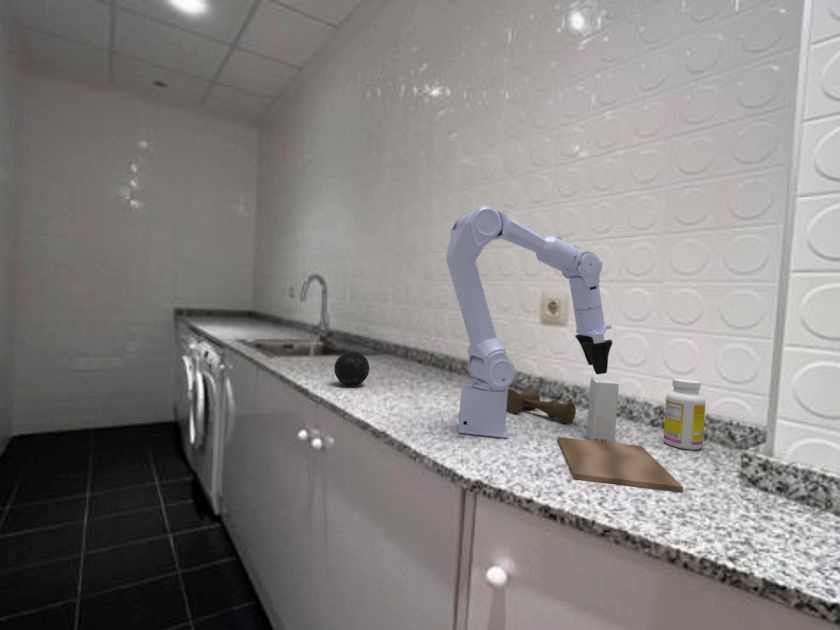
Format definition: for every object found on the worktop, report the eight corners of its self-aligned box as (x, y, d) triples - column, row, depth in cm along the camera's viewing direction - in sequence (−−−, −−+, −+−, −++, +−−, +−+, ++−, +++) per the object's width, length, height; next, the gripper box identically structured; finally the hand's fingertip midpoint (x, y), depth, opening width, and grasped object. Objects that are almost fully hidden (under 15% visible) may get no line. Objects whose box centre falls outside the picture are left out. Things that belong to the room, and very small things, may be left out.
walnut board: (573, 478, 66) (574, 473, 66) (557, 441, 84) (557, 436, 84) (682, 492, 63) (683, 486, 63) (640, 450, 82) (641, 445, 82)
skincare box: (615, 446, 83) (619, 383, 82) (591, 444, 84) (595, 381, 83) (608, 437, 89) (612, 378, 88) (585, 435, 90) (589, 376, 89)
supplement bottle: (699, 444, 88) (704, 380, 87) (705, 453, 82) (710, 385, 81) (661, 437, 91) (666, 376, 90) (664, 446, 85) (669, 380, 84)
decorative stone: (327, 386, 123) (329, 351, 123) (342, 381, 133) (344, 348, 133) (360, 390, 121) (362, 354, 120) (373, 384, 130) (375, 351, 130)
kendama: (559, 430, 94) (486, 407, 109) (580, 424, 101) (509, 404, 116) (562, 402, 94) (489, 383, 109) (583, 399, 101) (512, 381, 116)
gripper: (616, 308, 86) (626, 375, 87) (599, 300, 100) (608, 358, 101) (578, 314, 87) (589, 380, 89) (567, 306, 101) (577, 362, 103)
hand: (597, 368), depth 95 cm, fingers open, 7 cm apart
